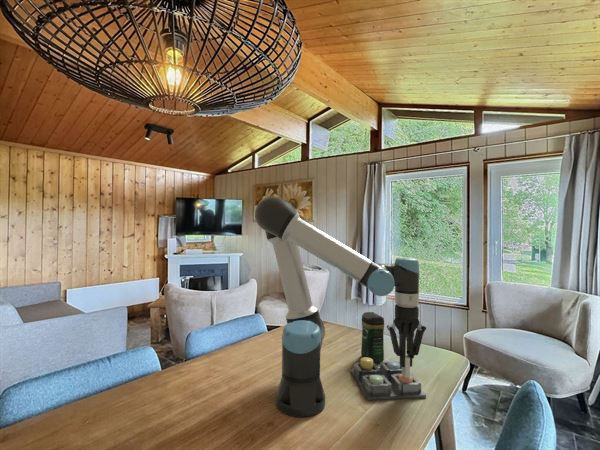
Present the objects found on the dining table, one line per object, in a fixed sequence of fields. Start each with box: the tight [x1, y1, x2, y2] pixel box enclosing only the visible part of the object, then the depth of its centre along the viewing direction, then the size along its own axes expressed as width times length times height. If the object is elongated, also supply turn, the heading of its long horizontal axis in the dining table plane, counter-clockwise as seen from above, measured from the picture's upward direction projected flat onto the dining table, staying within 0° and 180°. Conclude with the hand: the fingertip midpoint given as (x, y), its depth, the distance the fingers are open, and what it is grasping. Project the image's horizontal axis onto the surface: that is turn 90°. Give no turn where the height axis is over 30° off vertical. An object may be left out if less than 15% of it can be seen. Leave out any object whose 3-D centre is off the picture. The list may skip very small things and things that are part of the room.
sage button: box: [370, 375, 383, 384], centre depth 104 cm, size 4×4×3 cm
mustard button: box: [360, 357, 373, 370], centre depth 114 cm, size 4×4×3 cm
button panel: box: [350, 360, 427, 401], centre depth 110 cm, size 19×20×4 cm
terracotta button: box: [399, 374, 413, 383], centre depth 106 cm, size 4×4×3 cm
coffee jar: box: [360, 311, 385, 364], centre depth 131 cm, size 10×8×19 cm
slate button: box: [387, 360, 400, 369], centre depth 116 cm, size 4×4×3 cm
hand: (405, 376), depth 106 cm, fingers closed
